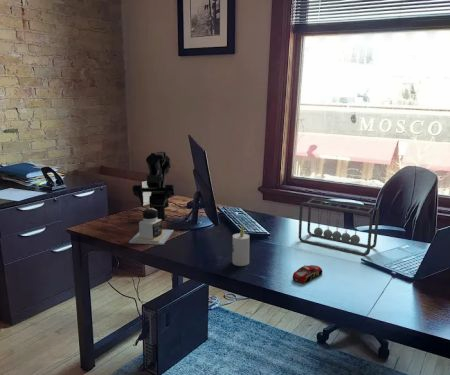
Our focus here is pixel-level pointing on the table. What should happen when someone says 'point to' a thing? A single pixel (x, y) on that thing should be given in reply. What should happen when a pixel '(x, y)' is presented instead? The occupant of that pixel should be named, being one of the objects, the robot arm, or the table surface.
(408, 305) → the table surface
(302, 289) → the table surface
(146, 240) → the board
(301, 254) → the table surface
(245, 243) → the candle
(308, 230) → the newton's cradle
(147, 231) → the medicine bottle
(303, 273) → the race car
